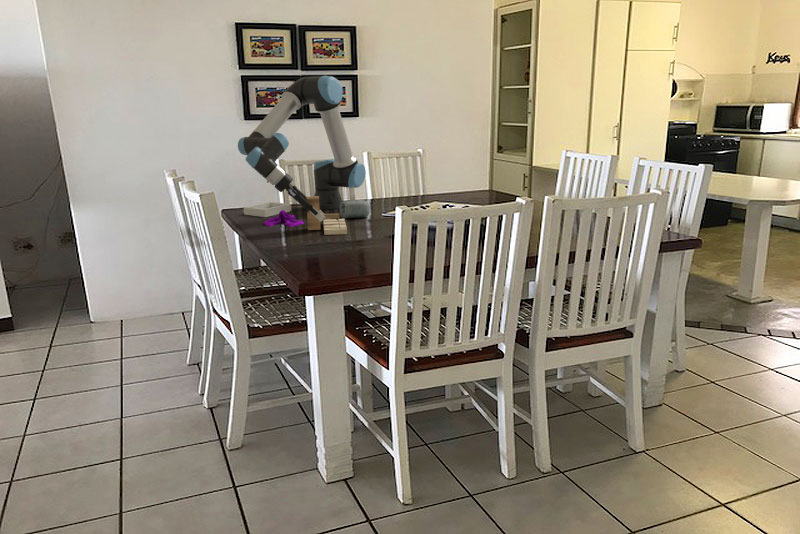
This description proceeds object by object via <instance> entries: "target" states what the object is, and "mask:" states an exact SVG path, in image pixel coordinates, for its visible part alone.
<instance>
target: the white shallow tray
mask: <svg viewBox="0 0 800 534" xmlns="http://www.w3.org/2000/svg"><path fill="white" fill-rule="evenodd" d="M281 210H284V211H285V212H286V213H291V212H292V204H291V203H284V202H283V203H282V202H275V201H267V202H262V203H257V204H253V205H248V206H244V207H243V215H245V216H251V217H252V216H254V217H262V218H268V217H272V216H273V217H274V216H277V215H279V212H280V211H281ZM290 211H291V212H290Z"/></svg>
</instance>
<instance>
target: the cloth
mask: <svg viewBox="0 0 800 534" xmlns="http://www.w3.org/2000/svg"><path fill="white" fill-rule="evenodd" d="M304 224H305V222H304V221H303V219H299V220H297V218H296V215H294V214H289V213H288V212H285V211H284V210H281V211H280V212H279V214H278V216H273V217H270V218H268V219H267V220H265V221H264V222H263V225H265V226H267V227H273V226H278V225H284V226H287V227H290V228H291V227H292V228H293V227H297V226H300V225H304Z"/></svg>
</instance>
